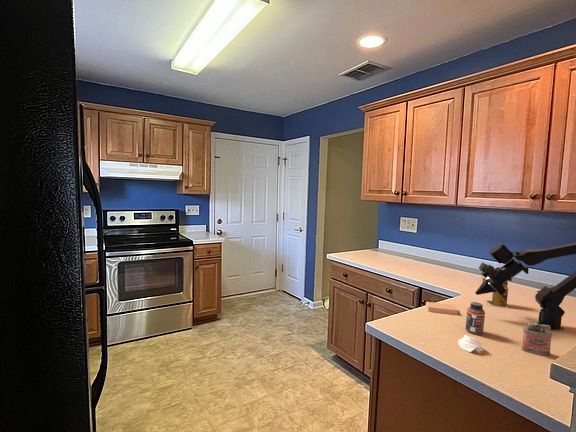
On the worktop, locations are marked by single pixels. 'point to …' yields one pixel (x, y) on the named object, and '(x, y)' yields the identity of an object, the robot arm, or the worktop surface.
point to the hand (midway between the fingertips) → (476, 293)
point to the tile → (441, 308)
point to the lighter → (537, 339)
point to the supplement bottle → (475, 318)
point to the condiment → (499, 298)
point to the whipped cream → (469, 343)
